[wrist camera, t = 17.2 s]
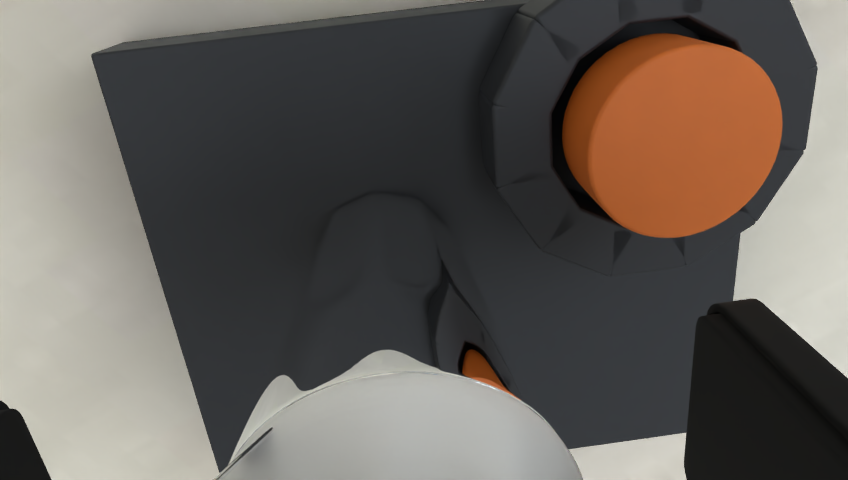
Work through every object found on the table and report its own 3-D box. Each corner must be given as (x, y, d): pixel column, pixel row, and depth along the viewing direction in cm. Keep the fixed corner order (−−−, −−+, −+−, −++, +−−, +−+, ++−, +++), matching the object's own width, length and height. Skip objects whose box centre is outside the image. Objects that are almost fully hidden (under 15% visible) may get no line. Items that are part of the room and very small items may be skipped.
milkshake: (358, 92, 14) (343, 374, 4) (518, 253, 15) (738, 683, 6) (217, 233, 15) (-27, 694, 6) (383, 368, 16) (406, 880, 7)
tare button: (742, 22, 12) (797, 32, 11) (725, 195, 14) (772, 226, 12) (559, 44, 12) (588, 57, 11) (562, 216, 14) (587, 251, 12)
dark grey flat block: (736, -64, 15) (839, -70, 12) (696, 386, 20) (759, 468, 17) (111, 7, 14) (39, 22, 11) (238, 450, 20) (214, 547, 16)
